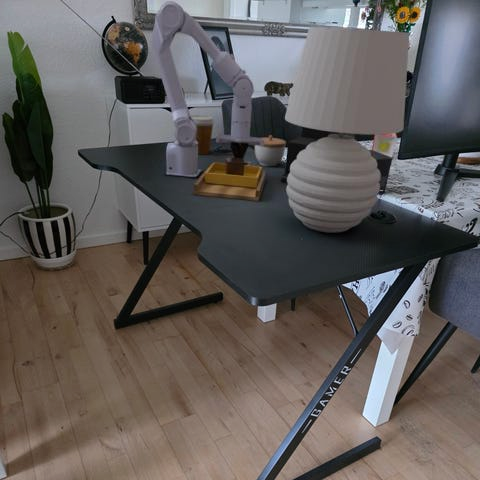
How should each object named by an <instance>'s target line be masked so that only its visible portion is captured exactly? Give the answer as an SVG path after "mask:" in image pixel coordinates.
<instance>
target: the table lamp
mask: <svg viewBox="0 0 480 480" xmlns="http://www.w3.org/2000/svg"><path fill="white" fill-rule="evenodd" d="M409 41H410V32H403V31H394V30H393V31H392V30H378V29H364V28H363V29H361V28H347V27H346V28H345V27H330V26H329V27H327V26H309V27H308V31H307V35H306V37H305V41H304V45H303V49H302V52H301V57H300V61H299V64H298V67H297V71H296V75H295V78H294V82H293V86H292V89H291V94H290V97H289V100H288V105H287V108H286V112H285V115H284V120H285V121H286V122H288V123H289V124H293V125H295V126H299V127H301V128H302V127H306V128H311V129H317V130H323V131H330V132H339V134H330V135H328V137H325V138H321V139H319V140H318V141H316V142H312V143H310V144H309V145H308V146H307V147H306V149H304V150H302V151H300V152H299V154H298V155H297V159H296V160H294V161H293V162H292V164H291V166H290V173H289V174H288V177H287V182H286V183H287V185H286V190H285V191H286V195H287V197H288V205H289V207H290V208H291V209H292V210H293V211H292V212H293V214H294V216H295V217H296V218H297V219H298V220H299V221H300V222H301V223H302V224H303V225H304V226H305V227H307V228H309V229H311V230H314V231H317V232H320V233H329V234H330V233H333V234H336V233H337V234H338V233H343V232H346V231H348V230H350V229H352V228H354V227H356V226H358V225H360V224H361V223H362V222H363V219H365V218H367V217H368V216H369V215H370V213H371V212H372V208H373V207H374V206H375V205H376V203H377V201H378V195H379V194H378V193H379V190H380V184H379V181H380V177H381V174H380V171H379V169H377V161H376V159H374V158H373V157H372V156H371V153H370V151H369V150H370V149H368V148H367V147H366V146H363V144H362V143H361V142H359V141H358V140H355V139H354V137H353V136H351V135H353V134H354V135H375V134H392V133H396V134H398V133H401V132H402V131H404V128H405V127H404V125H405V110H406V109H405V108H406V92H407V75H408V59H409V44H410V43H409ZM343 133H345V135H343ZM348 134H351V135H348Z"/></svg>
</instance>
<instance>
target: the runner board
mask: <svg viewBox="0 0 480 480" xmlns="http://www.w3.org/2000/svg"><path fill="white" fill-rule="evenodd" d="M210 166H211V165H209V166H208V167H207V168H206V169H205V170H204V172H202V174H201V175H200V176H199V177H198V178H197V180H196V181H195V182H194V183H193V195H194V196H195V195H196V196H205V197H214V198H225V199H235V200H245V201H254V202H255V201H256V202H258V201H260V198H261V195H262V192H263V189H264V186H265V184H266V180H267V170H262V176H261V178H260V181H259V183H258V186H257V188H254V187H244V186H234V185H224V184H213V183H205V172H206V171H207V170H208V168H209V167H210Z"/></svg>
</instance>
